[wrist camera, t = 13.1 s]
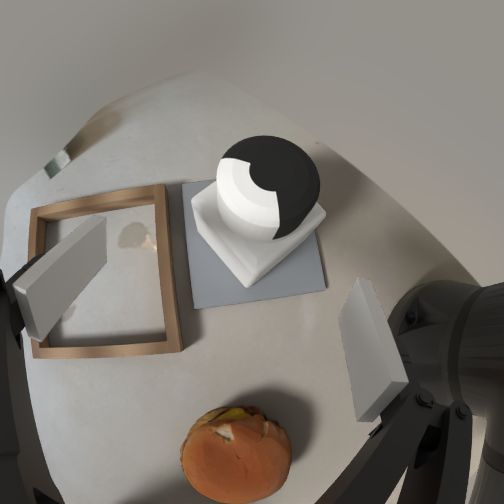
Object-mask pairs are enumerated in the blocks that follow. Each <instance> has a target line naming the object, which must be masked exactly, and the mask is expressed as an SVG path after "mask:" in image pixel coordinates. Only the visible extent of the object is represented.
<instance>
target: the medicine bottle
mask: <svg viewBox="0 0 504 504" xmlns="http://www.w3.org/2000/svg"><path fill="white" fill-rule="evenodd" d="M319 191H320V179H319V174H318V171H317V169H316V166H315V164H314V163H313V161H312V160H311V158H310V157H309V156H308V155H307V153H305V152H304V151H303V150H302V149H301V148H300V147H298V146H297V145H295V144H294V143H292V142H290V141H288V140H285V139H282V138H279V137H274V136H254V137H250V138H247V139H244V140H242V141H239V142H238V143H236V144H235V145H233V146H232V147H231V148H230V149H228V151H227V152H226V153H225V154H224V156H223V157H222V159H221V161H220V163H219V166H218V170H217V180H216V181H215V182H213V183H212V184H210V185H209V186H208V187H206V188H205V189H204V190H202V191H201V192H199V193H198V194H197V195H195V196H194V197H193V198H192V200H191V204H192V208H193V213H194V217H195V221H196V226H197V230H198V232H199V233H200V235H201V236H202V237H203V238H204V239H205V241H206V242H207V243H208V244H209V245H210V247H211V248H212V249H213V250H214V251H215V253H216V254H217V255H218V256H219V257H220V258H221V260H222V261H223V262H224V263H225V264H226V266H227V267H228V268H229V269H230V270H231V271H232V273H233V274H234V275H235V276H236V277H237V278H238V280H239V281H240V282H241V283H242V284H243V285H244V287H246V288H249V287H251V286H252V285H253V284H254V283H256V282H257V281H258V280H259V279H260V278H262V277H263V276H264V275H265V274H266V273H267V272H269V271H270V270H271V269H272V268H273V267H274V266H276V265H277V264H278V263H279V262H280V261H281V260H283V259H284V258H285V257H286V256H287V255H288V254H290V253H291V252H292V251H293V250H294V249H295V248H296V247H298V246H299V245H300V244H301V243H302V242H303V241H304V240H305V239H306V238H307V237H308V236H309V235H310V234H311V233H312V232H313V230H314V229H315V228H316V227H317V226H318V225H319V224H320V223H321V222H322V221H323V220H324V218H325V217H326V212H325V210H324V209H323V208H322V207H321V206H320V205H319V204H318V203H317V199H318V196H319Z"/></svg>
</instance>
